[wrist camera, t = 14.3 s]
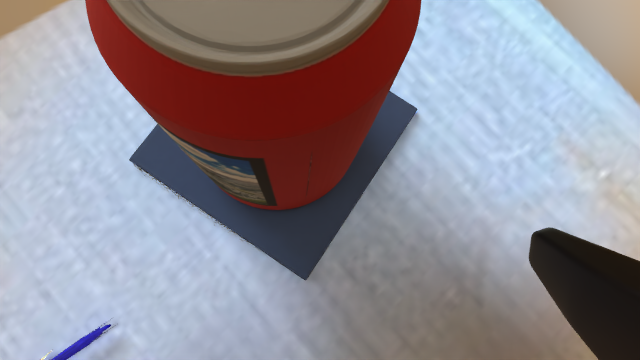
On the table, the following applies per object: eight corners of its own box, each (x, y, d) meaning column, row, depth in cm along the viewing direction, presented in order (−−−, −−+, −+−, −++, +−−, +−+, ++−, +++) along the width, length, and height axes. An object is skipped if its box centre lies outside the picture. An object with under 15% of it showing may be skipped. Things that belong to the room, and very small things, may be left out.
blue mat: (416, 110, 20) (418, 108, 19) (305, 280, 18) (305, 280, 18) (253, 7, 20) (252, 4, 20) (130, 161, 19) (128, 159, 18)
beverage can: (179, 90, 19) (-10, -200, 7) (324, 45, 20) (364, -281, 8) (227, 236, 18) (93, 171, 6) (378, 182, 19) (518, 32, 7)
